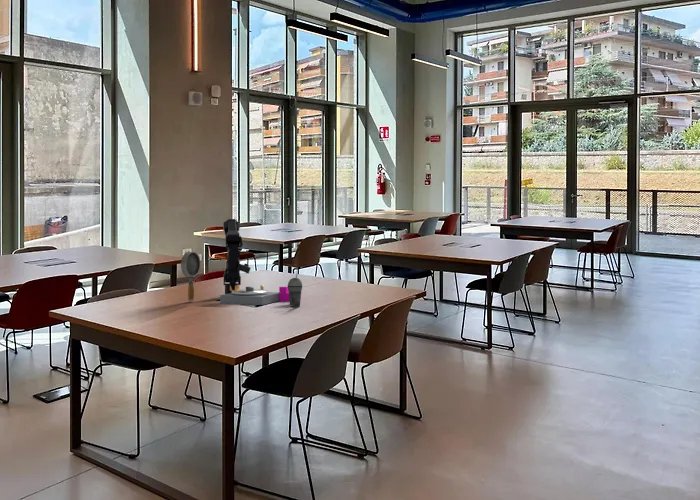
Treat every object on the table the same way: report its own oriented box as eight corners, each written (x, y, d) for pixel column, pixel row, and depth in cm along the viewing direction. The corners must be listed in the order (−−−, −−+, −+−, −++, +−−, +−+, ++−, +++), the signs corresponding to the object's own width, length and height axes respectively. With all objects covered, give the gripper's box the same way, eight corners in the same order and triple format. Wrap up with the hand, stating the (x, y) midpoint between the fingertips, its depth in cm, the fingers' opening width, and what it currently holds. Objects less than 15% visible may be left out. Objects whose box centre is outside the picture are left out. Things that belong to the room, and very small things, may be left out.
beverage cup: (287, 308, 317) (287, 268, 316) (302, 308, 318) (302, 268, 317) (287, 310, 310) (287, 269, 309) (302, 310, 311) (302, 269, 310)
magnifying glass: (195, 299, 337) (195, 251, 336) (200, 299, 336) (200, 251, 335) (181, 301, 324) (180, 252, 324) (186, 301, 323) (186, 252, 323)
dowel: (259, 292, 333) (259, 285, 333) (261, 292, 335) (261, 285, 335) (262, 292, 333) (262, 285, 333) (264, 292, 334) (264, 285, 334)
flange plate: (222, 294, 319) (222, 286, 319) (239, 291, 337) (239, 284, 336) (258, 295, 313) (258, 288, 313) (273, 292, 331) (273, 285, 331)
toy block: (290, 302, 326) (290, 287, 326) (279, 301, 328) (279, 287, 328) (301, 299, 341) (301, 284, 340) (290, 298, 342) (290, 284, 342)
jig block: (220, 303, 318) (220, 295, 318) (241, 298, 340) (241, 291, 340) (262, 304, 311) (262, 296, 311) (281, 300, 333) (281, 292, 333)
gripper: (250, 259, 313) (250, 291, 314) (249, 258, 332) (249, 288, 332) (226, 259, 311) (226, 292, 312) (227, 258, 330) (227, 288, 330)
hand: (233, 290), depth 322 cm, fingers closed
